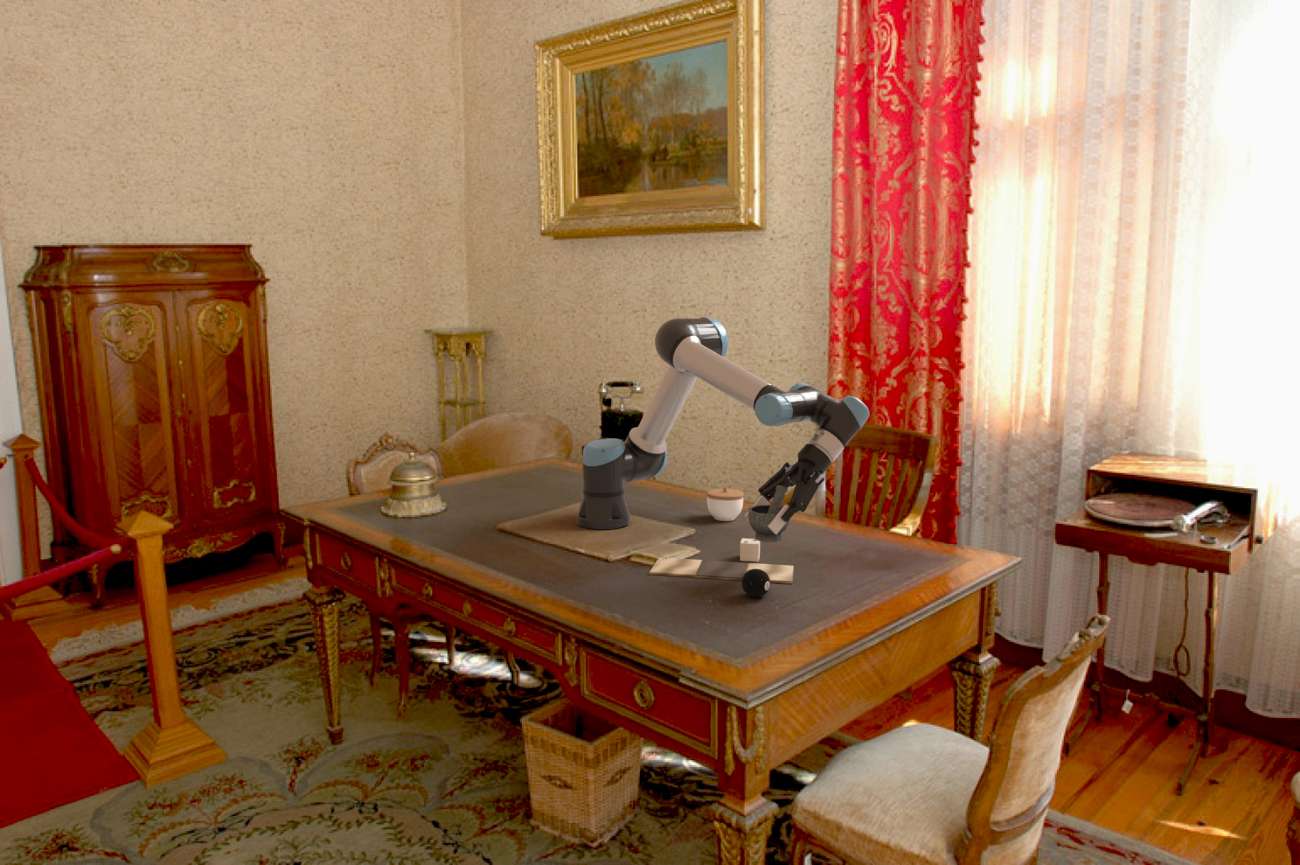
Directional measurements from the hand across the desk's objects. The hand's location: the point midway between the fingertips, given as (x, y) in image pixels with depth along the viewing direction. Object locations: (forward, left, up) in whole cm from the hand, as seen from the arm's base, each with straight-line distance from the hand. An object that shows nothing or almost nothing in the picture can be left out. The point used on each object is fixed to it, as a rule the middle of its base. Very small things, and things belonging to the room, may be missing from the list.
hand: (759, 525), depth 207 cm
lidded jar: (-14, +52, -12) cm, 55 cm away
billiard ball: (0, -15, -12) cm, 19 cm away
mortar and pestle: (+2, +2, -4) cm, 5 cm away
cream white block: (-3, +13, -12) cm, 18 cm away
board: (-9, +2, -12) cm, 15 cm away
